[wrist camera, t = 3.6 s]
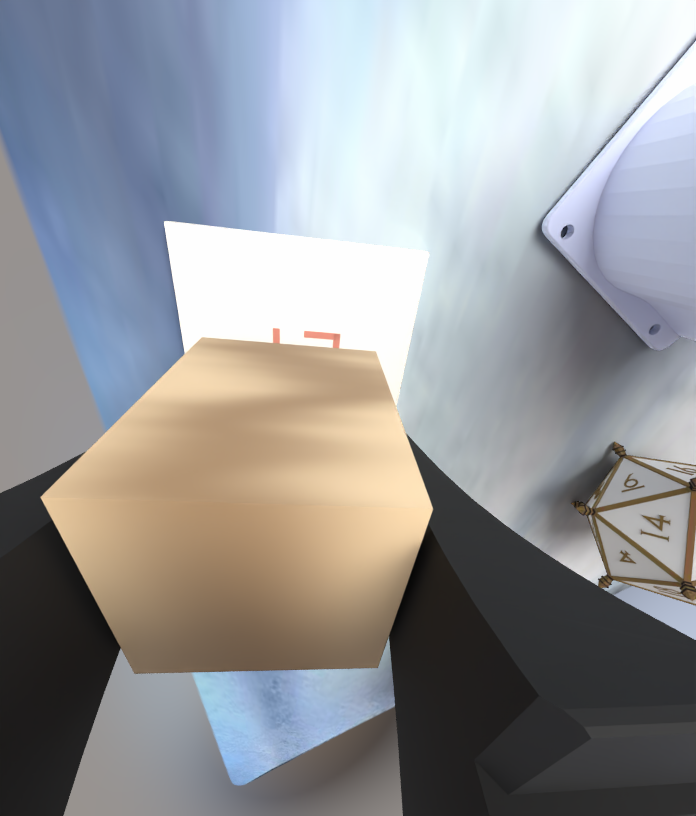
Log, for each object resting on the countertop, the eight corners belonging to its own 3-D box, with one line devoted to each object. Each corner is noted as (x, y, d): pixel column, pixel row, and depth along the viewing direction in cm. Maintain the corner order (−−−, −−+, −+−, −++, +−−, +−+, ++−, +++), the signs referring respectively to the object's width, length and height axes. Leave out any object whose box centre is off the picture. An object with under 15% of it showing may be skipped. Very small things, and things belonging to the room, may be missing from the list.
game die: (546, 448, 24) (531, 534, 17) (694, 392, 19) (772, 483, 11) (619, 547, 24) (637, 681, 16) (792, 520, 18) (942, 705, 11)
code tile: (425, 251, 13) (429, 252, 13) (385, 444, 18) (387, 451, 18) (170, 221, 12) (163, 221, 12) (202, 435, 17) (198, 442, 17)
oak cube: (375, 351, 10) (432, 509, 4) (355, 476, 12) (377, 667, 7) (201, 337, 9) (39, 496, 4) (219, 470, 12) (134, 673, 6)
